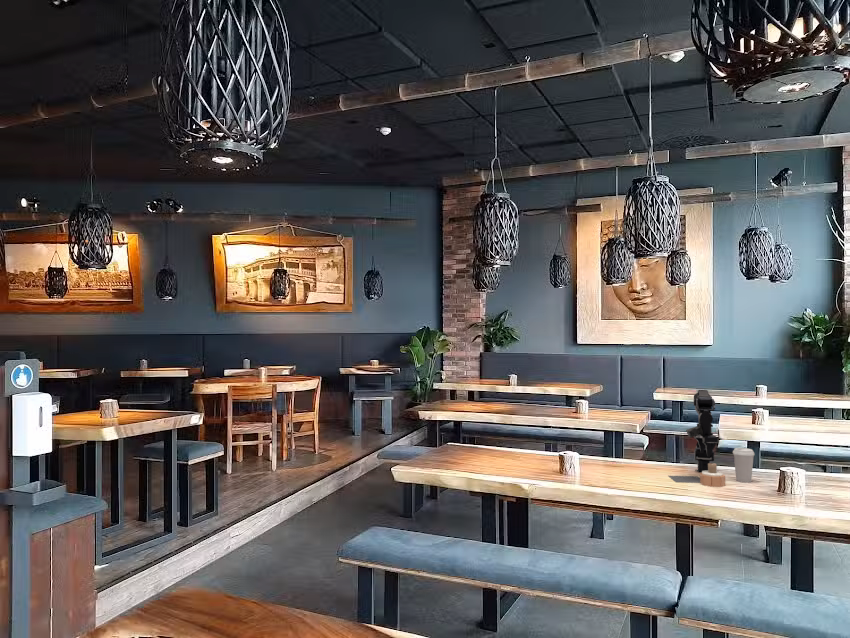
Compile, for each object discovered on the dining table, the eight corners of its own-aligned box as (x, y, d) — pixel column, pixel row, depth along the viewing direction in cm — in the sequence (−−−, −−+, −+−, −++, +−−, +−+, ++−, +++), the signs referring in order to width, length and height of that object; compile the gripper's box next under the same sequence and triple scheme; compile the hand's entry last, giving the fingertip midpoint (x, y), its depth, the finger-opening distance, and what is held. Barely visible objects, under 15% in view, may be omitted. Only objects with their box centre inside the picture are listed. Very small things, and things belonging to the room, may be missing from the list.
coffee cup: (743, 477, 315) (742, 447, 315) (759, 482, 306) (759, 450, 306) (728, 479, 312) (727, 448, 312) (744, 483, 303) (744, 451, 303)
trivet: (667, 476, 317) (667, 475, 317) (697, 477, 316) (697, 476, 316) (675, 483, 303) (675, 482, 303) (706, 484, 302) (706, 483, 302)
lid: (699, 472, 305) (699, 461, 305) (718, 472, 304) (718, 461, 304) (705, 476, 296) (705, 465, 296) (726, 476, 295) (726, 465, 295)
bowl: (698, 482, 305) (697, 472, 305) (720, 483, 304) (719, 472, 304) (705, 487, 295) (705, 476, 295) (727, 488, 294) (727, 477, 294)
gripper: (682, 419, 323) (682, 450, 323) (693, 424, 304) (694, 457, 304) (705, 419, 322) (705, 450, 322) (718, 424, 303) (718, 458, 303)
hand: (705, 454), depth 313 cm, fingers open, 9 cm apart
